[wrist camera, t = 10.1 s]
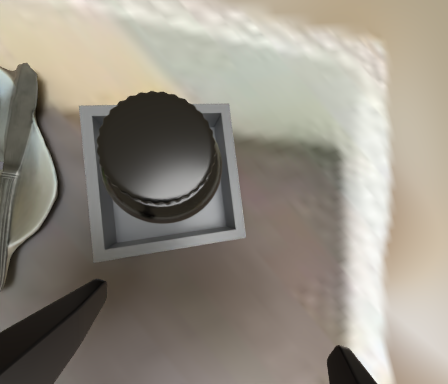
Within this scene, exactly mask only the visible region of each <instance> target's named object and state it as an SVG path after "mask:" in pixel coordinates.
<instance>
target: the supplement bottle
mask: <svg viewBox="0 0 448 384" xmlns="http://www.w3.org/2000/svg"><path fill="white" fill-rule="evenodd" d="M97 144H98V148H97V154H98V155H99V157H100V159H99V164H100V171H101V176H102V180H103V183H104V186H105V188H106V190H107V192H108V194H109V195H110V197H111V198H112V200H113V201H114V202H115V203H116V204H117V205H118V206H119V207H120V208H121V209H122V210H124V211H125V212H126V213H128V214H129V215H131V216H133V217H135V218H137V219H140V220H142V221H146V222H150V223H157V224H169V223H175V222H180V221H183V220H186V219H188V218H190V217H192V216H194V215H195V214H197V213H198V212H200V211H201V210H202V209H203V208H204V207H205V206H206V205H207V204H208V203H209V202H210V201H211V200H212V198H213V197H214V195H215V193H216V191H217V189H218V187H219V184H220V181H221V176H222V158H221V153H220V150H219V147H218V144H217V142H216V140H215V138H214V137H213V131H212V130H211V128H210V127H209V122H208V121H207V120H206V119H205V118H204V117H203V114H202V113H201V112H200V111H198V110H197V109H196V107H195V106H194V105H192V104H189V103H188V102H187V101H186V100H185V99H182V98H178V97H177V96H176V95H174V94H167V93H165V92H158V93H157V92H154V91H150V92H148V93H139V94H137V95H136V96H129V97H128V98H127V99H126V100H124V101H120V102H119V103H118V104H117V106H116V107H114V108H112V109H111V110H110V112H109V115H107V116H106V117H105V118H104V119H103V125H102V126H101V127H100V128H99V136H98V138H97Z"/></svg>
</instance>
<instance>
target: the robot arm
mask: <svg viewBox="0 0 448 384" xmlns="http://www.w3.org/2000/svg"><path fill="white" fill-rule="evenodd" d="M106 297H107V282H106V281H104V280H100V279H94V280H92V281H91V282H89V283H87V284H85V285H84V286H82V287H80V288H78V289H76V290H75V291H73V292H71V293H69V294H68V295H66V296H64V297H62V298H61V299H59V300H57V301H55V302H53V303H52V304H50V305H48V306H46V307H45V308H43V309H41V310H39V311H37V312H36V313H34V314H32V315H30V316H29V317H27V318H25V319H23V320H22V321H20V322H18V323H16V324H14V325H13V326H11V327H9V328H7V329H6V330H4V331H2V332H0V384H53V383H54V382H55V381H56V379H57V378H58V376H59V375H60V373H61V372H62V371H63V369H64V368H65V366H66V365H67V363H68V362H69V360H70V359H71V358H72V356H73V355H74V353H75V352H76V350H77V349H78V347H79V346H80V344H81V343H82V341H83V339H84V337H85V336H86V334H87V332H88V330H89V329H90V327H91V325H92V323H93V322H94V320H95V318H96V316H97V315H98V313H99V311H100V309H101V308H102V306H103V304H104V302H105V300H106ZM327 367H328V375H329V383H330V384H377V383H376V382H375V380H374V379H373V378H372V376H371V375H370V374H369V373H368V371H367V370H366V369H365V368H364V366H363V365H362V364H361V362H360V361H359V360H358V359H357V357H356V356H355V355H354V354H353V352H352V351H351V350H350V349H349V348H347V347H343V346H340V345H337V346H336V347H335V348H334V350H333V351H332V352H331V354H330V355H329V357H328V359H327Z"/></svg>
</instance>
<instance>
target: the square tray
mask: <svg viewBox="0 0 448 384" xmlns="http://www.w3.org/2000/svg"><path fill="white" fill-rule="evenodd" d="M192 105H194V106H195V107H196V109H197V110H198V111H200V112H201V113H202V114H203V117H204V118H205V119H206V120H207V121H208V122H209V127H210V128H211V130H212V131H213V137H214V138H215V140H216V142H217V144H218V147H219V150H220V153H221V158H222V176H221V181H220V184H219V187H218V189H217V191H216V193H215V195H214V197H213V198H212V200H211V201H210V202H209V203H208V204H207V205H206V206H205V207H204V208H203V209H202V210H201V211H200V212H198V213H197V214H195V215H194V216H192V217H190V218H188V219H186V220H183V221H180V222H175V223H169V224H157V223H150V222H146V221H142V220H140V219H137V218H135V217H133V216H131V215H129V214H128V213H126V212H125V211H124V210H122V209H121V208H120V207H119V206H118V205H117V204H116V203H115V202H114V201H113V200H112V198H111V197H110V195H109V194H108V192H107V190H106V188H105V186H104V183H103V180H102V176H101V171H100V164H99V159H100V157H99V155H98V154H97V148H98V144H97V138H98V136H99V128H100V127H101V126H102V125H103V119H104V118H105V117H106V116H107V115H109V112H110V110H111V109H112V108H114V107H116V106H117V105H95V106H79V111H80V122H81V133H82V143H83V154H84V165H85V176H86V187H87V198H88V209H89V219H90V230H91V241H92V252H93V263H96V262H102V261H108V260H114V259H120V258H126V257H132V256H138V255H144V254H150V253H156V252H162V251H168V250H174V249H180V248H187V247H193V246H199V245H205V244H211V243H217V242H223V241H229V240H235V239H241V238H246V233H245V225H244V217H243V209H242V201H241V193H240V186H239V178H238V170H237V162H236V154H235V146H234V139H233V131H232V123H231V115H230V107H229V104H192Z"/></svg>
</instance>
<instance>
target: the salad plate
mask: <svg viewBox="0 0 448 384" xmlns="http://www.w3.org/2000/svg"><path fill="white" fill-rule="evenodd" d="M37 100H38V84H37V74H36V73H35V72H34V71H33V70H32V69H31V68H30V66H29V65H28V64H27V63H23V64H19V65H18V67H17V69H16V70H15V71H10V70H7V69H4V68H2V67H0V162H4V164H3V169H2V170H0V291H1V290H2V289H3V287H4V284H5V280H6V277H7V271H8V266H9V262H10V257H11V255H12V254H13V252H14V251H15V249H16V248H17V247H18V246H19V245H20V244H22V243H23V242H24V241H25V240H26V239H28V238H29V237H30V236H32V235H33V234H34V233H35V232H36V231H38V230H39V228H40V227H41V225H42V224H43V222H44V220H45V219H46V217H47V215H48V214H49V212H50V210H51V208H52V206H53V204H54V202H55V200H56V199H57V196H58V192H57V187H58V180H57V175H56V171H55V167H54V163H53V160H52V157H51V154H50V152H49V150H48V148H47V146H46V144H45V141H44V139H43V136H42V135H41V133H40V130H39V128H38V125H37V122H36V117H35V111H36V106H37Z"/></svg>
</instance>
